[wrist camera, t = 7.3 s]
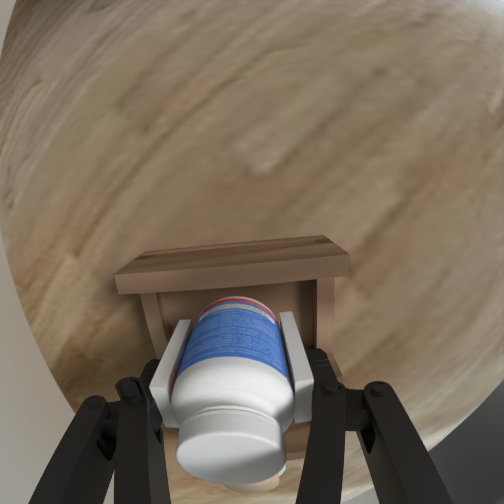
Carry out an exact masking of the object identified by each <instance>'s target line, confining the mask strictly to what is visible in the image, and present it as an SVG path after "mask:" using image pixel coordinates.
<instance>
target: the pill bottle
mask: <svg viewBox="0 0 504 504" xmlns="http://www.w3.org/2000/svg"><path fill="white" fill-rule="evenodd" d="M171 405H172V412H173V415H174V417H175V419H176V421H177V423H178V424H179V426H180V429H179V434H178V442H177V447H176V458H177V461H178V463H179V464H180V465H181V466H182V468H183V469H184V470H186V471H187V472H188V473H190V474H192V475H193V476H195V477H198V478H200V479H202V480H205V481H208V482H212V483H217V484H223V485H247V484H253V483H258V482H262V481H265V480H267V479H269V478H271V477H273V476H275V475H276V474H278V473H279V472H280V471H281V470H282V469H283V467H284V465H285V463H286V450H285V438H284V434H283V433H284V432H285V431H286V430H287V428H288V427H289V426H290V424H291V422H292V420H293V417H294V414H295V396H294V391H293V386H292V382H291V377H290V373H289V368H288V363H287V359H286V354H285V349H284V344H283V339H282V335H281V331H280V327H279V323H278V321H277V319H276V317H275V316H274V314H273V313H272V311H271V310H270V309H269V308H267V307H266V306H265V305H264V304H262V303H260V302H258V301H256V300H254V299H251V298H247V297H240V296H231V297H225V298H221V299H218V300H216V301H214V302H212V303H211V304H209V305H208V306H207V307H206V308H205V309H204V310H203V311H202V312H201V313H200V315H199V316H198V318H197V320H196V322H195V325H194V328H193V331H192V334H191V336H190V339H189V342H188V345H187V349H186V351H185V354H184V357H183V360H182V363H181V366H180V369H179V372H178V375H177V378H176V381H175V384H174V389H173V392H172V398H171Z"/></svg>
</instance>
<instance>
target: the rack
mask: <svg viewBox="0 0 504 504" xmlns="http://www.w3.org/2000/svg"><path fill="white" fill-rule="evenodd" d="M349 271H350V254H349V253H347V252H346V251H344V250H343V249H342V248H340V247H339V246H338V245H336V244H335V243H334V242H332V241H331V240H329V239H328V238H327V237H325V236H324V235H320V236H309V237H297V238H285V239H274V240H263V241H252V242H241V243H230V244H219V245H209V246H198V247H188V248H178V249H168V250H158V251H148V252H145V253H143V254H142V255H141V256H139V257H138V258H136V259H135V260H134V261H132V262H131V263H130V264H128V265H127V266H126V267H124V268H123V269H121V270H120V271H119V272H117V273H116V274H115V275H114V277H115V281H116V286H117V290H118V294H139V293H140V297H141V301H142V305H143V309H144V314H145V318H146V321H147V325H148V329H149V333H150V336H151V340H152V343H153V347H154V350H155V354H156V357H157V359H162V357H163V355H164V352H165V350H166V348H167V346H168V344H169V342H170V339H171V337H172V335H173V333H174V331H175V329H176V327H177V324H178V322H179V320H188V319H191V321H192V326H193V328H194V325H195V322H196V320H197V318H198V316H199V315H200V313H201V312H202V311H203V310H204V309H205V308H206V307H207V306H208V305H209V304H211V303H212V302H214V301H216V300H218V299H221V298H225V297H231V296H240V297H247V298H251V299H254V300H256V301H258V302H260V303H262V304H264V305H265V306H266V307H267V308H269V309H270V310H271V311H272V313H273V314H274V316H275V317H276V319H277V321H278V323H279V327H280V314H279V313H281V312H290V311H292V313H293V316H294V320H295V323H296V326H297V329H298V332H299V335H300V338H301V341H302V344H303V347H304V350H309V349H316V348H320V349H322V350H323V351H324V352H326V354H327V356H328V359H329V361H330V364H331V366H332V368H333V370H334V373H335V375H336V377H337V380H338V382H340V383H342V381H343V376H342V374H341V371H340V369H339V367H338V365H337V363H336V360H335V358H334V356H333V354H332V343H333V320H334V277H339V276H348V275H349ZM310 425H311V421H308V422H301V423H295V418H294V417H293V420H292V422H291V424H290V426H289V427H288V428H287V430H286V431H285V432H284V433H283V434H284V438H285V450H286V461H287V460H295V459H302V458H305V455H306V449H307V443H308V437H309V431H310Z"/></svg>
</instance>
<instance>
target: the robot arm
mask: <svg viewBox="0 0 504 504" xmlns="http://www.w3.org/2000/svg"><path fill="white" fill-rule="evenodd" d="M279 314H280V331H281V335H282V339H283V344H284V349H285V354H286V359H287V363H288V368H289V373H290V377H291V382H292V386H293V391H294V396H295V414H294V418H295V423H301V422H308V421H311V425H310V431H309V437H308V443H307V449H306V455H305V460H304V465H303V471H302V476H301V480H300V485H299V490H298V494H297V499H296V503H295V504H340V501H341V491H342V480H343V467H344V451H345V431H356V433H357V435H358V438H359V441H360V444H361V447H362V450H363V453H364V456H365V459H366V462H367V465H368V468H369V472H370V475H371V478H372V481H373V484H374V487H375V490H376V493H377V497H378V500H379V504H453V503H452V500H451V498H450V496H449V494H448V492H447V490H446V488H445V485H444V484H443V481H442V480H441V477H440V475H439V473H438V471H437V469H436V467H435V465H434V463H433V462H432V459H431V458H430V456H429V454H428V452H427V450H426V448H425V446H424V444H423V442H422V440H421V438H420V436H419V435H418V433H417V431H416V429H415V427H414V425H413V424H412V422H411V420H410V418H409V416H408V415H407V413H406V411H405V409H404V407H403V406H402V404H401V402H400V400H399V399H398V397H397V395H396V393H395V392H394V390H393V388H392V387H391V386H390V385H389V384H388V383H386V382H382V381H373V382H371V383H368V384H367V385H366V386H365V388H364V390H354V389H348V388H345V386H344V385H343V384H342V383H340V382H338V380H337V377H336V375H335V373H334V370H333V368H332V366H331V364H330V361H329V359H328V356H327V354H326V352H324V351H323V350H322V349H320V348H316V349H309V350H304V347H303V344H302V341H301V338H300V335H299V332H298V329H297V326H296V323H295V320H294V316H293V313H292V311H290V312H281V313H279ZM192 331H193V326H192V321H191V319H188V320H179V322H178V324H177V327H176V329H175V331H174V333H173V335H172V337H171V339H170V342H169V344H168V346H167V348H166V350H165V352H164V355H163V357H162V359H152V360H151V361H150V362H149V363H147V364H146V366H145V368H144V370H143V372H142V374H141V376H140V378H136V377H126V378H123V379H121V380H119V381H118V382H117V383H116V385H115V388H116V390H117V392H118V394H119V397H120V399H121V401H116V402H107V401H106V399H105V398H104V397H103V396H99V395H94V396H91V397H89V398H87V399H85V401H84V402H83V403H82V405H81V406H80V408H79V410H78V412H77V413H76V415H75V417H74V419H73V420H72V422H71V423H70V425H69V427H68V429H67V431H66V432H65V434H64V436H63V438H62V439H61V441H60V443H59V445H58V447H57V448H56V450H55V452H54V454H53V456H52V458H51V459H50V461H49V463H48V465H47V467H46V469H45V471H44V473H43V475H42V477H41V479H40V481H39V483H38V485H37V487H36V489H35V491H34V493H33V495H32V497H31V499H30V501H29V504H103V502H104V499H105V496H106V493H107V490H108V487H109V484H110V481H111V478H112V474H113V472H114V469H115V472H114V504H171V500H170V493H169V486H168V479H167V471H166V462H165V452H164V441H163V432H162V429H161V427H160V426H161V422H162V420H163V423H164V425H165V427H172V428H180V426H179V424H178V423H177V421H176V419H175V417H174V415H173V412H172V405H171V398H172V392H173V389H174V384H175V381H176V378H177V375H178V372H179V369H180V366H181V363H182V360H183V357H184V354H185V351H186V349H187V345H188V342H189V339H190V336H191V334H192Z"/></svg>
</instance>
